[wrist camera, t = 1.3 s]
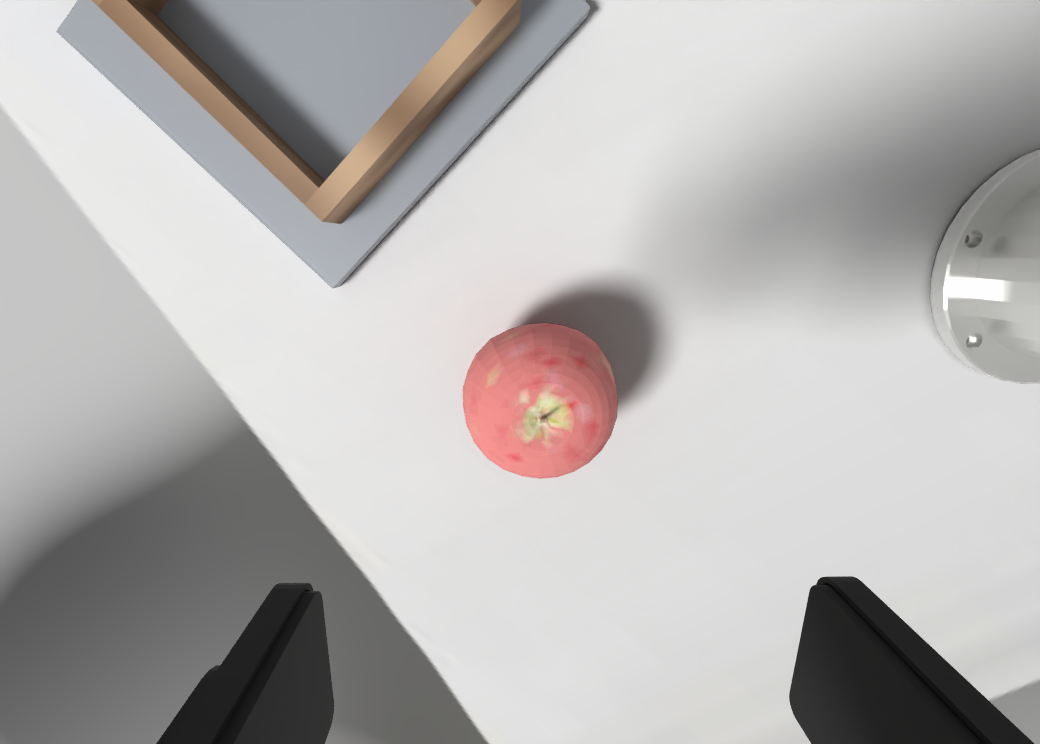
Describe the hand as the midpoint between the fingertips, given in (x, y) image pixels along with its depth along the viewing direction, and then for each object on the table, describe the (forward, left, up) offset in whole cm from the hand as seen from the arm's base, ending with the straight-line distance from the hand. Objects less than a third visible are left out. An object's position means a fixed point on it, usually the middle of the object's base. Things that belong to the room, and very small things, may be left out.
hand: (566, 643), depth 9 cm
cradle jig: (-5, -19, -19) cm, 27 cm away
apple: (0, 0, -19) cm, 19 cm away
